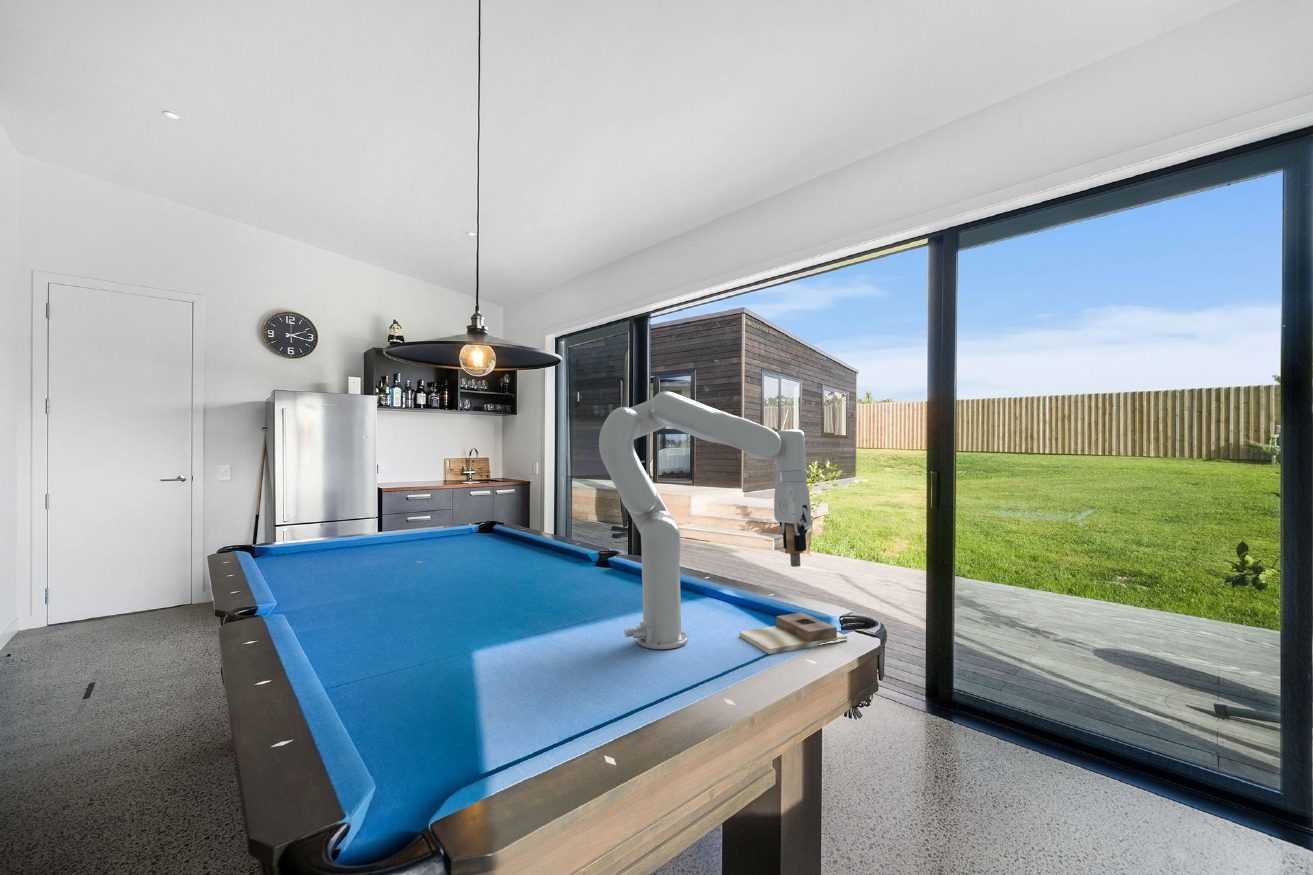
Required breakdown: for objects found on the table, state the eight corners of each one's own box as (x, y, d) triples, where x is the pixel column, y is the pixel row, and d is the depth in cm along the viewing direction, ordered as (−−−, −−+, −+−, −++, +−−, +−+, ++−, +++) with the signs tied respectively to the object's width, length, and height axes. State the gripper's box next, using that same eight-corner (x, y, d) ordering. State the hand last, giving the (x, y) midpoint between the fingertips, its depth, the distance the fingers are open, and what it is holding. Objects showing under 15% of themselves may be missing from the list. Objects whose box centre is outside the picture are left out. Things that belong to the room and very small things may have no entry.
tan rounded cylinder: (793, 567, 138) (791, 525, 139) (784, 565, 142) (782, 524, 142) (807, 566, 140) (805, 524, 140) (797, 563, 143) (795, 523, 144)
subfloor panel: (769, 654, 127) (768, 637, 127) (739, 636, 140) (739, 621, 140) (847, 640, 135) (846, 625, 135) (812, 625, 148) (811, 611, 148)
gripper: (761, 477, 148) (764, 546, 147) (798, 479, 132) (802, 556, 132) (784, 476, 151) (788, 543, 150) (824, 477, 135) (828, 553, 135)
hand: (794, 548), depth 141 cm, fingers closed on tan rounded cylinder, 4 cm apart
